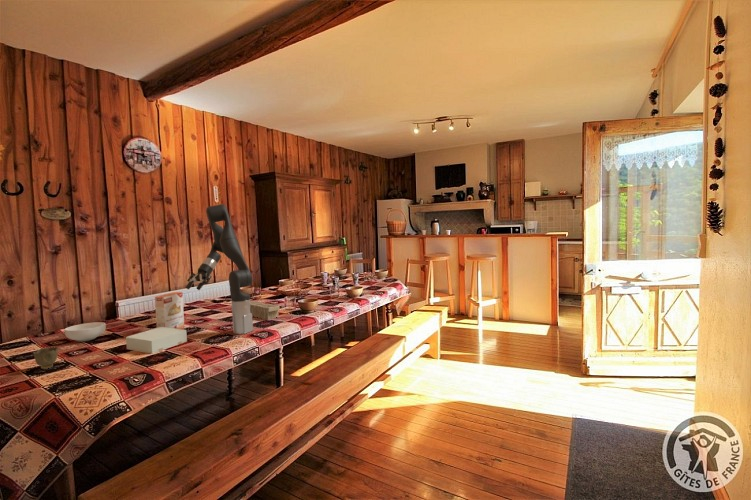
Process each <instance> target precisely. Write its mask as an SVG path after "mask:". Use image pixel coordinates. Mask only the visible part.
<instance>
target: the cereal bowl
mask: <svg viewBox="0 0 751 500" xmlns="http://www.w3.org/2000/svg"><path fill="white" fill-rule="evenodd" d="M106 328H107V325H106V322H99V321H96V322H95V321H94V322H87V323H86V322H85V323H80V324H76V325H72V326H68V327H66V328H64V335H65V337H66V338H68V340H73V341H76V342H79V343H80V342H88V341H92V340H95V339H96V338H97V337H99V336H102V334H104V333H105V331H106Z"/></svg>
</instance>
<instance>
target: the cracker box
mask: <svg viewBox="0 0 751 500" xmlns="http://www.w3.org/2000/svg"><path fill="white" fill-rule="evenodd" d="M154 303H155V304H154V305H155V308H154V309H155V321H156V324H155V325H156V328H159V327H167V328H175V329H183V330H185V319H184V318H185V317H184V297H183V292H181V291H173V292H170V293H164V294H161V295H157V296H154Z"/></svg>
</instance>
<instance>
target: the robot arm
mask: <svg viewBox="0 0 751 500" xmlns="http://www.w3.org/2000/svg"><path fill="white" fill-rule="evenodd" d="M205 210H206V211H205V213H206V217H207V220H208V223H209V227H210V229H211V231H212V235H213V239H214V241H213V243H212V245H211V249H210V251H209V254H208V255H207V256H206V258H205V259H204V260H203V261H202V263H201V264H200V265H199V267H198V268H197V272H196V273H194V272H192V273H191V275H190V276H189V277H188V278H187V282H188V283H187V285H186V286H185V288H186V289H187V290H190V289H191V287H192V286H193V284H195V283H197V282H199V283H198V284H197V286H196V290H197V291H200V290H201V289H202V288H203V286H204V285H208V284H209V282H210V281H211V278H212V275H211V274H212V273H213V271H214V270H215V268H216V267H217V264H218V263H219V261H220V260H221V257H222V256H221V254H220V253H222V254H224V256H226V257H227V258H228V259H229V260H230V261H232V262H233V263H234V264H235V266H236V267H237V269H238V270H232V271H230V272H229V275H228V284H229V292H230V298H231V313H232V314H231V316H232V331H233V334H235V335H241V334H247V333H250V332H253V331H254V323H253V316H252V313H251V311H250V301H251V298H250V297H251V296H250V294H249V293H247V292H242V291H241V288H245V287H246V288H247V287H250V286H251V285H252V284H253V275H252V272H251V270H250V267H249V265H248V264H247V262H246V259H245V257H244V254H243V252H242V249H241V245H240V243H239V241H238V238H237V236H236V233H235V230H234V228H233V225H232V220H231V218H230V214H229V213H230V212H229V211H228V207H227V206H226V205H225V204H222V203H220V204H215V205H211V206H210V205H209V206H207V207H206V209H205ZM222 221H223V222H224V225H223V226H221V225H219V224H218V222H222Z"/></svg>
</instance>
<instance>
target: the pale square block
mask: <svg viewBox="0 0 751 500" xmlns="http://www.w3.org/2000/svg"><path fill="white" fill-rule="evenodd" d="M187 336H188V335H187V329H175V328H167V327H159V328H157V327H155V328H152V329H149V330H146V331H142V332H139V333H135V334H132V335H129V336H126V337H125V344H126V350H130V351H135V352H140V353H141V352H142V353H146V354H152V355H153V354H156V353H158V352H162V351H163V350H167V349H169V348H172V347H175V346H178V345H181V344H184V343H186V342H188V337H187Z"/></svg>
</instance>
